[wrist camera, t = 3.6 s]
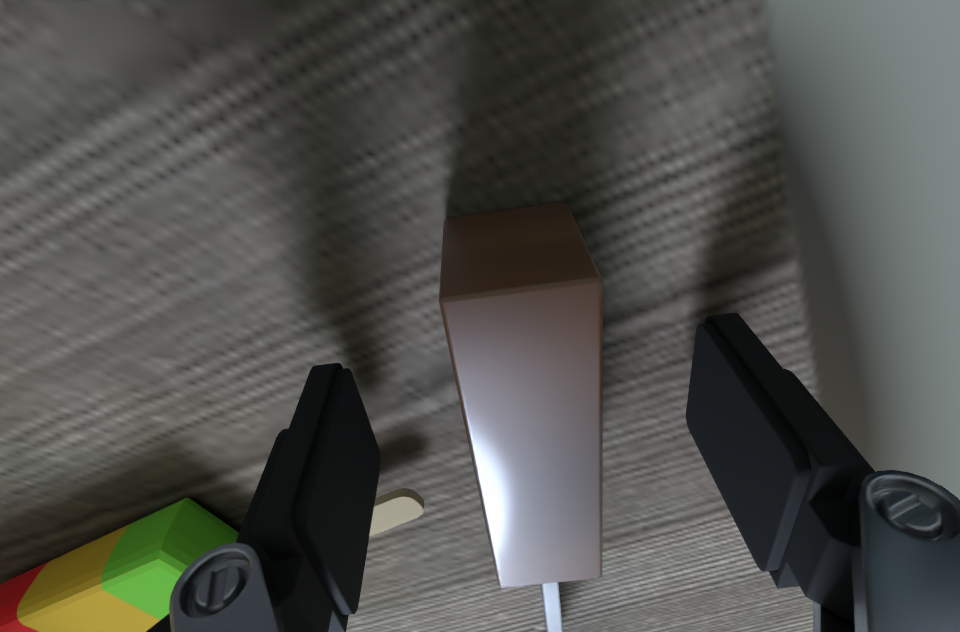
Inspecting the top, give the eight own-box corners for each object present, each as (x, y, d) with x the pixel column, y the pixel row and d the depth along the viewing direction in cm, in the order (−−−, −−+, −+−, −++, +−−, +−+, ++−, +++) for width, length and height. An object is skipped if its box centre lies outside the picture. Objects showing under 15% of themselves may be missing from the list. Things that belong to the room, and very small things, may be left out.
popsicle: (-24, 587, 16) (-75, 653, 15) (359, 406, 13) (346, 469, 11) (122, 653, 19) (92, 715, 18) (471, 521, 15) (474, 584, 14)
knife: (443, 216, 10) (437, 298, 7) (567, 199, 10) (603, 276, 7) (520, 636, 19) (529, 734, 17) (584, 630, 19) (602, 728, 17)
